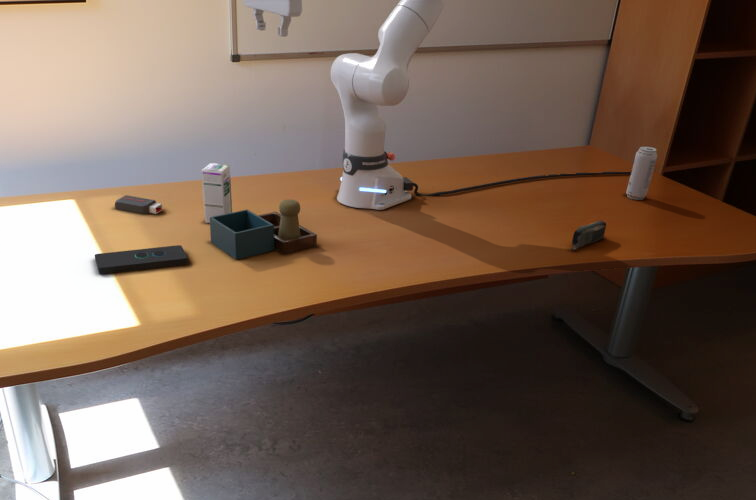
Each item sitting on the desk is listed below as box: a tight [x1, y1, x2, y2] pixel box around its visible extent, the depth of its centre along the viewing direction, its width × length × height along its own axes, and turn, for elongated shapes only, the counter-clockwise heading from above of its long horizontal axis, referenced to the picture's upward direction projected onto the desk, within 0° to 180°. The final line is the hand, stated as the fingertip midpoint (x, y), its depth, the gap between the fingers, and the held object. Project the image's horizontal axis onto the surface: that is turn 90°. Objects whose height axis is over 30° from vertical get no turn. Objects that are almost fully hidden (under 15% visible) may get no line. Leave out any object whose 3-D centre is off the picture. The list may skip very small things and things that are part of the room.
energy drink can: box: [625, 146, 658, 201], centre depth 225 cm, size 6×6×15 cm
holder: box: [258, 211, 318, 255], centre depth 188 cm, size 10×19×3 cm, turn 38°
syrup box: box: [200, 162, 233, 224], centre depth 193 cm, size 6×6×14 cm
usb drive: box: [114, 194, 163, 215], centre depth 200 cm, size 5×12×3 cm, turn 71°
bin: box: [209, 209, 275, 260], centre depth 181 cm, size 11×12×7 cm
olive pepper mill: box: [278, 198, 301, 240], centre depth 183 cm, size 6×6×11 cm
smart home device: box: [94, 244, 189, 275], centre depth 172 cm, size 8×2×20 cm
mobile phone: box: [571, 220, 607, 251], centre depth 194 cm, size 5×3×15 cm
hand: (271, 33), depth 173 cm, fingers open, 8 cm apart
